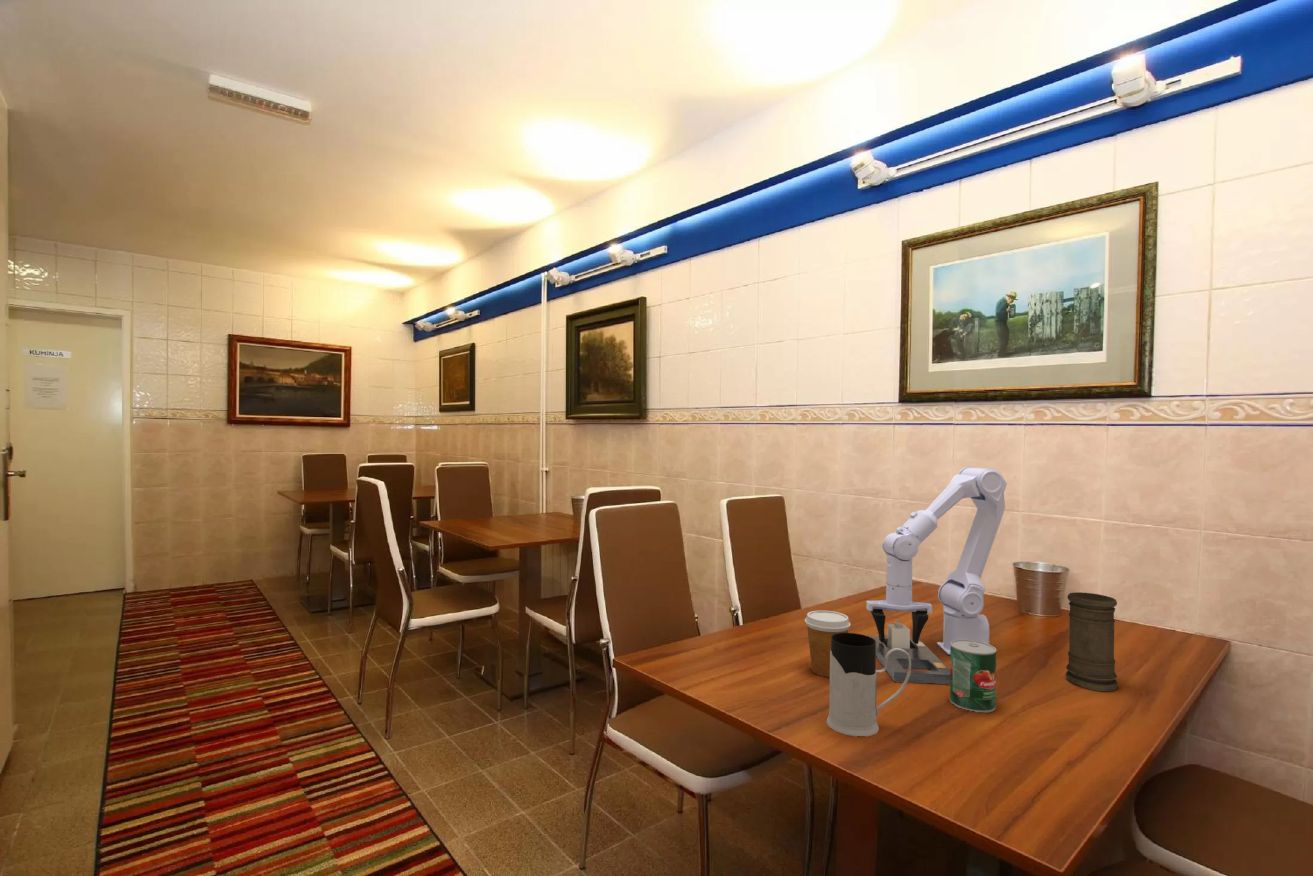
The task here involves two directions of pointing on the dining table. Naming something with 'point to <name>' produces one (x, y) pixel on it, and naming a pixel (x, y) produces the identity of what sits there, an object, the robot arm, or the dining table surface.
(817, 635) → the disposable coffee cup
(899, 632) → the plug
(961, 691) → the canned tomato
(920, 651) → the panel
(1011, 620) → the dining table surface
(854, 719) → the grey beer mug
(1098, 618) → the container
